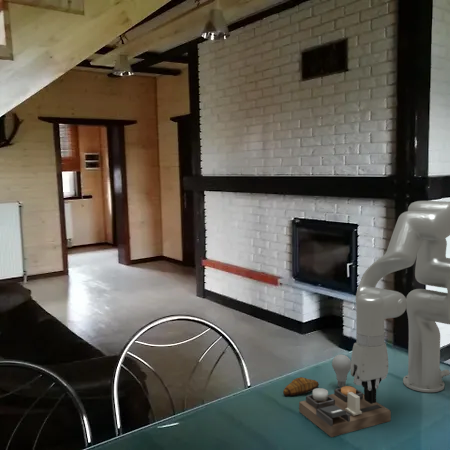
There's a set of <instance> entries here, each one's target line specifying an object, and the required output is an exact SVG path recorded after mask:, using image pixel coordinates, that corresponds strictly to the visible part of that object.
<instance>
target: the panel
mask: <svg viewBox="0 0 450 450" xmlns="http://www.w3.org/2000/svg"><path fill="white" fill-rule="evenodd" d="M349 386H350V387H353V386H352V385H349ZM355 389H356V395H358V396H359V397H360V411H362V414H358V415H355V416H353V415H352V414H350V413H349V412H347V411H346V410H345V408H348V396H345V395H344V394H342V393H341V388H340V387H338V388H335V389H334V390H333V391H334V392H333V393H331V394H328V399H327V400H324V401H318V400H315V399H313V393H312V394H309V395H306V396H305V399H304V400H301V401H299V404H298V406H299V407H298V408H299V409H298V411H299V413H301V414H302V415H303V416H304V417H306V418H307V419H308V420H309V421H310V422H312V423H313V424H314V425H315V426H317V427H318V428H319V429H320V430H322V431H323V432H324V433H325V434H327V435H328V436H329V437H330V438H334V437H337V436H341V435H346V434H348V433H351V432H356V431H359V430H362V429H363V430H364V429H366V428H370V427H373V426H377V425H381V424H383V423H384V424H385V423H388V422H391V421H392V420H391V419H392V418H391V417H392V416H391V414H392V413H391V412H392V411H391V409H389V408H387V407H385V406H384V405H382V404H381V403H378V402H377V401H376V403H373V404H370V403H369V402H367V401H366V400H365V399H364V392H362V391H360V390H358V389H357V388H355ZM332 405H333V406H335V407H338V408H340V409H343V410H345V411H346V415H342V416H338V417H335V418H331V417H329V416H327V415H326V414H325V413H323V412H322V411H321V410H320V408H324V407H328V406H332Z"/></svg>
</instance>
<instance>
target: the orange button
mask: <svg viewBox="0 0 450 450" xmlns="http://www.w3.org/2000/svg"><path fill="white" fill-rule="evenodd" d="M350 386H351V385H346V386H344V387H342V388H341V393H342V394H344V395H345V396H348V392H353V393H354V394H356V389H357V388H355V387H354V386H352V387H350Z"/></svg>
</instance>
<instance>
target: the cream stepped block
mask: <svg viewBox="0 0 450 450" xmlns="http://www.w3.org/2000/svg"><path fill="white" fill-rule="evenodd" d="M345 410H346V411H347V412H349V413H350V414H352V415H353V416H355V415H358V414H362V411H360V397H359V396H358V395H356V394H354V393H353V392H348V408H345Z"/></svg>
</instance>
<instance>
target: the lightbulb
mask: <svg viewBox="0 0 450 450" xmlns="http://www.w3.org/2000/svg"><path fill="white" fill-rule="evenodd" d="M331 366H332V368H333V371H334V372H335V375H336V381H337V386H338V388H342V387H344V386H347V383H346V382H347V379H348V374H349V372H351V359H350V357H348V356H347V355H345V354H337V355H335V356H334V357H333V359H332V362H331Z"/></svg>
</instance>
